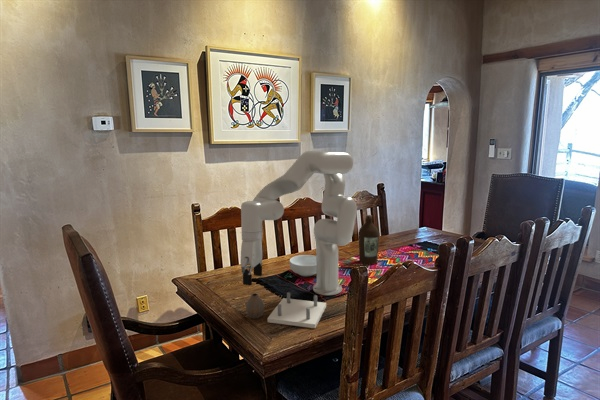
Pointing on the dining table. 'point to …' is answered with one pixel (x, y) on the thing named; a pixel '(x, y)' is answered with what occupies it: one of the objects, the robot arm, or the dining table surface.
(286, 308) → the stand
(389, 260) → the dining table surface
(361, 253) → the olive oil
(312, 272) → the cereal bowl
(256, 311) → the vase
